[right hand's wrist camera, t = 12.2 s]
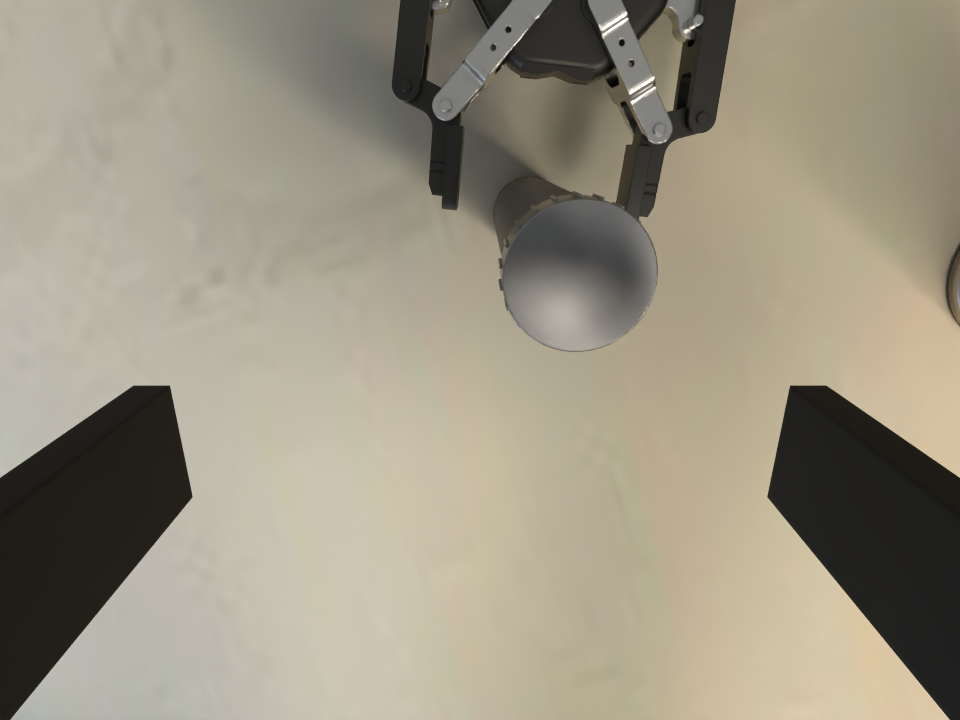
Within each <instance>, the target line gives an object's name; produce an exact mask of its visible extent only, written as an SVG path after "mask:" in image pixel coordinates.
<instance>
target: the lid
mask: <svg viewBox="0 0 960 720" xmlns="http://www.w3.org/2000/svg"><path fill="white" fill-rule="evenodd" d="M530 207H531V210H529V211H528V212H527V213H526V214H525V215H524V216H523V217H522V218H521V219H520V220H519V221H518V220H517V219H516V220H515V224H516V225H515V226H514V227H513V229H512V230H511V232H510V234H509V236H508V238H507V239H506V238H504V240H503V241H504V248H503V252H502V257H501V259H500V258H499V259H498V263H499V269H500V270H501V279H499V285H500V291H502V290H503V293H504V297H505V305H506V309H507V311H508V310H509V311H510V313H511V315H512V317H513V318H514V320H515V322H516V323H517V325H518V327H519V328H521V329H522V330H523V331H524V332H525V333H526V334H527V335H529V336H530V337H531V338H533V339H534V340H536V341H537V342H539V343H541V344H543V345H545V346H548V347H550V348H553V349H557V350H561V351H570V352H582V351H589V350H594V349H598V348H601V347H604V346H606V345H609V344H611V343H613V342H615V341H616V340H618V339H620V338H621V337H623V336H624V335H625V334H627V333H628V332H629V331H630V330H631V329H632V328H633V327H634V326H635V325H636V324H637V323H638V322H639V321H640V320H641V318H642V317H643V315H644V314H645V312H646V311H647V309H648V307H649V305H650V303H651V301H652V298H653V295H654V292H655V288H656V284H657V274H658V268H657V258H656V253H655V249H654V246H653V243H652V241H651V239H650V237H649V235H648V233H647V232H646V230H645V229H644V227H643V226H642V225H641V224H640V223H641V222H640V221H639V220H638V219H636V218H635V217H633V216H632V215H631V214H630V213H629V212H627V211H626V210H624V208H625V207H624V206H622V205H620V204H617V203H614V202H613V203H610V202H607V201H605V200H604V197H602V196H599V195H596V194H593V196H589V195H581V194H579V193H577V192H571V194H569V195H562V196H558V197H556V196H554V195H552V196H550V199H548V200H546V201H544V202H541V203H540V204H538V205H536V206H534V205H532V206H530Z"/></svg>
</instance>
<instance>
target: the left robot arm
mask: <svg viewBox="0 0 960 720" xmlns="http://www.w3.org/2000/svg"><path fill="white" fill-rule="evenodd" d="M473 1H474V3H475V5H476V7H477V9H478V11H479V13H480V15H481V17H482V19H483V21H484V23H485V25H486V27H487V29H488V31H487V32H486V33H485V34H484V36H483V37H482V38H481V39H480V40H479V42H478V43H477V44H476V45H475V46H474V48H473V49H472V50H471V51H470V53H469V54H468V55H467V56H466V58H465V59H464V61H463V63H462V64H461V65H460V67H459V68H458V69H457V70H456V72H455V73H454V74H453V75H452V76H451V78H450V79H449V80H448V81H447V82H446V84H445V85H444V86H443V87H442V88H440V87H438V86H437V85H435V84H433V83H431V82H429V81H427V72H428V64H429V55H430V47H431V39H432V30H433V22H434V14H438V15H441V14H444V13H446V12H447V11H448V10H449V9H450V8H451V6H452V2H453V0H401V1H400V10H399V20H398V30H397V40H396V50H395V59H394V69H393V79H392V89H393V92H394V94H395V95H396V96H397V97H398V98H399V99H401V100H403V101H404V102H405V103H407V104H410V105H412V106H414V107H416V108H418V109H420V110H422V111H423V112H425V113H426V114H427V115H428V116H429V117H430V119H431V122H432V126H433V131H432V145H431V161H430V174H429V185H430V189H431V192H432V195H440V196H442V209H449V210H457V208H458V200H459V189H460V177H461V166H462V154H463V143H464V131H465V128H464V126H461V118H462V114H463V113H464V112H465V110H466V109H467V108H468V107H469V106H470V105H471V103H472V102H473V101H474V100H475V99H476V97H477V96H478V95H479V94H480V93H481V92H482V91H483V90H484V89H485V88H486V87H487V86H488V84H489V83H490V82H491V81H492V80H493V79H494V77H495V76H496V75H497V74H498V73H499V72H500V70H501V69H502V68H503V67H504V66H505V65H507V66H508V67H509V68H510V69H511V70H512V71H513V72H515V73H517V74H519V75H520V77H521V78H529V79H540V78H546V77H552V76H554V77H557V78H559V79H561V80H564V81H566V82H568V83H573V84H582V85H587V84H588V83H590V82H594V81H597V80H599V79H601V78H602V80H603V82H604V84H605V86H606V88H607V90H608V92H609V94H610V96H611V98H612V100H613V102H614V103H615V104H616V105H617V106H618V108H619V110H620V112H621V114H622V116H623V118H624V120H625V122H626V124H627V126H628V128H629V130H630V132H631V134H632V136H633V143H632V145H626V150H625V156H624V161H623V167H622V172H621V178H620V184H619V189H618V195H617V200H616V203H617V204H620V205H622V206H624V207H625V208H624V210H626V211H627V212H629V213H630V214H631V215H632V216H633V217H635V218H636V219H638V220H639V216H643V217H648V215H649V214H650V212H651V210H652V209H653V207H654V203H655V198H656V193H657V188H658V183H659V178H660V173H661V168H662V163H663V158H664V154H665V151H666V148H667V147H668V145H669V144H670V143H671V142H673V141H674V140H676V139H678V138H682V137H686V136H690V135H693V134H697V133H704V132H706V131H708V130H710V129H711V128H712V126H713V125H714V123H715V120H716V114H717V109H718V103H719V97H720V91H721V85H722V79H723V73H724V67H725V61H726V55H727V49H728V43H729V37H730V31H731V26H732V20H733V14H734V8H735V2H736V0H473ZM662 13H664V14H666V15H667V16H668V17H669V18H670V20H671V22H672V33H673V36H674V38H675V39H676V40H677V41H678V42H680V43H683V46H682V53H681V60H680V67H679V74H678V81H677V88H676V94H675V101H674V108H673V111H669V112H666V109H665V107H664V105H663V103H662V101H661V98H660V96H659V94H658V92H657V90H656V87H655V78H654V75H653V72H652V70H651V68H650V66H649V64H648V62H647V59H646V57H645V55H644V53H643V51H642V48H641V46H640V44H639V42H638V40H639V39H640V38H641V37H642V36H643V35H644V33H645V32H646V31H647V30H648V29H649V28H650V27H651V25H652V24H653V23H654V22H655V21H656V20H657V19H658V17H659V16H660V15H661V14H662ZM629 62H631V64H632V66H631V67H630V66H629ZM614 71H615V72H616V74H617V75H615V74H614ZM948 295H949V302H950V307H951V310H952V313H953V315H954V317H955V319H956V320H957V322H958V323H959V324H960V250H959V252H958V254H957V256H956V258H955V261H954V263H953V266H952V269H951V273H950V277H949V285H948Z"/></svg>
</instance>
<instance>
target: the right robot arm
mask: <svg viewBox="0 0 960 720" xmlns="http://www.w3.org/2000/svg"><path fill="white" fill-rule="evenodd" d="M191 498H192V492H191V487H190V482H189V477H188V472H187V467H186V462H185V457H184V453H183V448H182V443H181V438H180V433H179V428H178V423H177V418H176V413H175V408H174V404H173V399H172V394H171V389H170V386H132V387H131V388H130V389H128V390H127V391H125V392H124V393H122V394H121V395H119V396H118V397H117V398H115V399H114V400H112V401H111V402H109V403H108V404H106V405H105V406H104V407H102V408H101V409H99V410H98V411H96V412H95V413H93V414H92V415H91V416H89V417H88V418H86V419H85V420H83V421H82V422H80V423H79V424H78V425H76V426H75V427H73V428H72V429H70V430H69V431H67V432H66V433H65V434H63V435H62V436H60V437H59V438H57V439H56V440H54V441H53V442H51V443H50V444H49V445H47V446H46V447H44V448H43V449H41V450H40V451H38V452H37V453H36V454H34V455H33V456H31V457H30V458H28V459H27V460H25V461H24V462H23V463H21V464H20V465H18V466H17V467H15V468H14V469H12V470H11V471H10V472H8V473H7V474H5V475H4V476H2V477H1V478H0V720H10V719H11V718H12V717H13V716H14V714H15V713H16V712H17V711H18V709H19V708H20V707H21V706H22V705H23V703H24V702H25V701H26V700H27V698H28V697H29V696H30V695H31V694H32V692H33V691H34V690H35V689H36V687H37V686H38V685H39V684H40V683H41V681H42V680H43V679H44V678H45V676H46V675H47V674H48V673H49V672H50V670H51V669H52V668H53V667H54V665H55V664H56V663H57V662H58V661H59V659H60V658H61V657H62V656H63V655H64V653H65V652H66V651H67V650H68V648H69V647H70V646H71V645H72V644H73V642H74V641H75V640H76V639H77V637H78V636H79V635H80V634H81V633H82V631H83V630H84V629H85V628H86V626H87V625H88V624H89V623H90V622H91V620H92V619H93V618H94V617H95V615H96V614H97V613H98V612H99V611H100V609H101V608H102V607H103V606H104V604H105V603H106V602H107V601H108V600H109V598H110V597H111V596H112V595H113V593H114V592H115V591H116V590H117V589H118V587H119V586H120V585H121V584H122V583H123V581H124V580H125V579H126V578H127V576H128V575H129V574H130V573H131V572H132V570H133V569H134V568H135V567H136V565H137V564H138V563H139V562H140V561H141V559H142V558H143V557H144V556H145V554H146V553H147V552H148V551H149V550H150V548H151V547H152V546H153V545H154V543H155V542H156V541H157V540H158V539H159V537H160V536H161V535H162V534H163V532H164V531H165V530H166V529H167V528H168V526H169V525H170V524H171V523H172V521H173V520H174V519H175V518H176V517H177V515H178V514H179V513H180V512H181V511H182V509H183V508H184V507H185V506H186V504H187V503H188V502H189V501H190V500H191ZM768 498H769V500H770V501H771V502H772V503H773V504H774V506H775V507H776V508H777V509H778V511H779V512H780V513H781V514H782V515H783V517H784V518H785V519H786V520H787V521H788V523H789V524H790V525H791V526H792V528H793V529H794V530H795V531H796V532H797V534H798V535H799V536H800V537H801V539H802V540H803V541H804V542H805V543H806V545H807V546H808V547H809V548H810V550H811V551H812V552H813V553H814V554H815V556H816V557H817V558H818V559H819V561H820V562H821V563H822V564H823V565H824V567H825V568H826V569H827V570H828V572H829V573H830V574H831V575H832V576H833V578H834V579H835V580H836V581H837V583H838V584H839V585H840V586H841V587H842V589H843V590H844V591H845V592H846V593H847V595H848V596H849V597H850V598H851V600H852V601H853V602H854V603H855V604H856V606H857V607H858V608H859V609H860V611H861V612H862V613H863V614H864V615H865V617H866V618H867V619H868V620H869V622H870V623H871V624H872V625H873V626H874V628H875V629H876V630H877V631H878V633H879V634H880V635H881V636H882V637H883V639H884V640H885V641H886V642H887V644H888V645H889V646H890V647H891V648H892V650H893V651H894V652H895V653H896V655H897V656H898V657H899V658H900V659H901V661H902V662H903V663H904V664H905V665H906V667H907V668H908V669H909V670H910V672H911V673H912V674H913V675H914V676H915V678H916V679H917V680H918V681H919V683H920V684H921V685H922V686H923V687H924V689H925V690H926V691H927V692H928V694H929V695H930V696H931V697H932V698H933V700H934V701H935V702H936V703H937V705H938V706H939V707H940V708H941V709H942V711H943V712H944V713H945V714H946V716H947V717H948V718H949V719H950V720H960V478H959V477H958V476H956V475H955V474H953V473H952V472H950V471H949V470H948V469H946V468H945V467H943V466H942V465H940V464H939V463H937V462H936V461H935V460H933V459H932V458H930V457H929V456H927V455H926V454H924V453H923V452H922V451H920V450H919V449H917V448H916V447H914V446H913V445H911V444H910V443H909V442H907V441H906V440H904V439H903V438H901V437H900V436H898V435H897V434H895V433H894V432H893V431H891V430H890V429H888V428H887V427H885V426H884V425H882V424H881V423H880V422H878V421H877V420H875V419H874V418H872V417H871V416H869V415H868V414H867V413H865V412H864V411H862V410H861V409H859V408H858V407H856V406H855V405H854V404H852V403H851V402H849V401H848V400H846V399H845V398H843V397H842V396H841V395H839V394H838V393H836V392H835V391H833V390H832V389H830V388H829V387H828V386H790V389H789V394H788V399H787V404H786V408H785V413H784V418H783V423H782V428H781V433H780V438H779V443H778V448H777V453H776V457H775V462H774V467H773V472H772V477H771V482H770V487H769V492H768Z"/></svg>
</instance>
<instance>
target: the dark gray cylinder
mask: <svg viewBox="0 0 960 720" xmlns="http://www.w3.org/2000/svg"><path fill="white" fill-rule="evenodd" d="M569 194H571V192H569V191H567V190H565V189H563V188H560V187H558V186H556V185H554V184H551V183H549V182H547V181H545V180H542V179H540V178H536V177H524V178H520V179H517V180H515V181H513V182H511V183H509V184H508V185H507V186H506V187H505V188H504V189H503V190H502V191H501V192H500V194H499V196H498V197H497V200H496V202H495V206H494V223H495V227H496V232H497V237H498V242H499V246H500V251H501V256H502V252H503V248H504V241H503V240H504V238H506V239H507V238H508V236H509V234H510V232H511V230H512V229H513V227H514V226H515V225H516V224H515V220H516V219H517V220H518V221H519V220H520V219H521V218H522V217H523V216H524V215H525V214H526V213H527V212H528V211H529V210H531V207H530V206H532V205H534V206H536V205H538V204H540V203H541V202H544V201H546V200H548V199H550V196H552V195H554V196H556V197H558V196H562V195H569Z"/></svg>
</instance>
